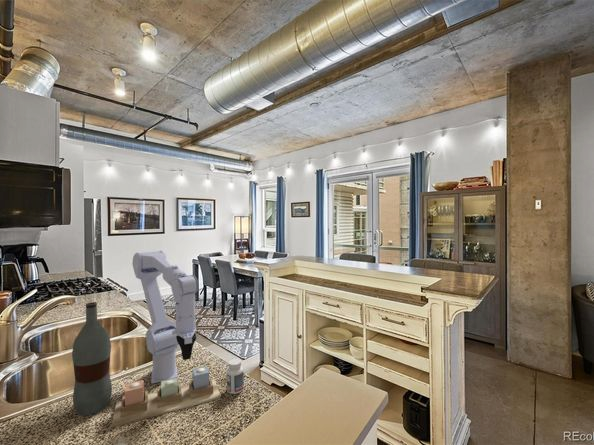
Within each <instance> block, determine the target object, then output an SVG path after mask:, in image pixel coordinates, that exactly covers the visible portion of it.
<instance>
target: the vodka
mask: <svg viewBox="0 0 594 445" xmlns="http://www.w3.org/2000/svg"><path fill="white" fill-rule="evenodd" d="M97 306H98V302H96V301H93V302H91V301H90V302H87V303H85V324H84V325H83V327H82V328H81V329H80V331H79V332H78V334H77V336H76V337H75V338H74V341H73V345H72V352H71V358H72V364H73V371H74V372H73V373H74V387H73V392H72V393H73V394H72V405H73V409H74V412H75V414H76V415H77V416H83V417H84V416H85V417H86V416H91V415H94V414H97V413H99V412H102V411H103V410H104V409H107V407H109V405H110V403H111V399H112V390H113V388H112V380H111V375H110V362H111V351H112V344H111V337H110V334H109V332H108V331H107V330H106V329H105V327H104V326H103V325H102V324H101V323H100V321H98V308H97Z"/></svg>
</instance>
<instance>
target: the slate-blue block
mask: <svg viewBox="0 0 594 445" xmlns="http://www.w3.org/2000/svg"><path fill="white" fill-rule="evenodd" d="M209 376H210V370H209V367H208V365H206V366H201V367H196V368H192V380H193V387H194V389H198V388H202V387H206V386H209Z"/></svg>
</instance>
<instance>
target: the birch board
mask: <svg viewBox="0 0 594 445" xmlns="http://www.w3.org/2000/svg"><path fill="white" fill-rule="evenodd" d="M177 384H178V394H174V395H170V396H166V397H162V398H161V386H160V387H157V388H156V389H157V391H156V392H151V393H149V390H148V389H147V390H144V400H143V402H142V403H138V404H134V405H130V406H126V407H125V395H122V399H121V400H118V401H116V404H115V407H114V412H113V417H112V422H111V428H116V427H118V426H119V427H120V426H123V425H127V424H130V423H135V422H137V421H141V420H144V419H148V418H151V417H152V418H153V417H156V416H159V415H160V416H161V415H163V414H168V413H170V412H174V411H177V410H178V411H179V410H182V409H186V408H190V407H194V406H196V405H200V404H204V403H208V402H213V401H215V400H219V399H221V398H222V395H221V392H220V390H219V387H218V385H217V382H216V378H212V377H211V375H209V386H206V387H202V388H198V389H194V387H193V379H191V380H188V384H185V385H181V382H177Z"/></svg>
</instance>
